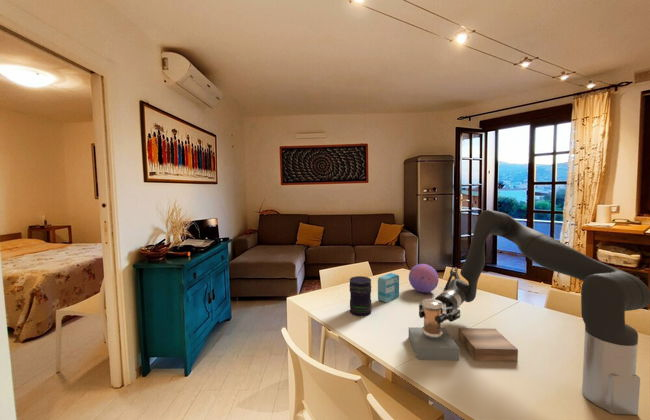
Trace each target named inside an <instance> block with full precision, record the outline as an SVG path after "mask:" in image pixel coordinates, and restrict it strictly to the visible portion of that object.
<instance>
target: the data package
mask: <svg viewBox="0 0 650 420" xmlns="http://www.w3.org/2000/svg"><path fill="white" fill-rule="evenodd" d="M399 296H400V275H399V274H396V273H392V272H389V273H387V274H384V275H381V276H379V277H378V278H377V299H378V301H380V302H384V303H386V304H387V303H389V302H391V301H393V300H396V299H397V298H399Z"/></svg>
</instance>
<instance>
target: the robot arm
mask: <svg viewBox="0 0 650 420" xmlns="http://www.w3.org/2000/svg"><path fill="white" fill-rule="evenodd" d="M490 235H492V236H499V237H502V238H504V239H506V240H508V241H510V242H512V243H514V244H515V245H516V246H517V248H518V249H519V252H520V253H522V255H523V256H525V257H526V258H528V259H529V260H531V261H532V262H534V263H535V264H537V265H539V266H540V267H541V268H545V269H548V270H550V271H553V272H555V273H559V274H562V275H565V276H568V277H572V278H575V279H577V280H579V281H581V282H582V283H581V289H580V305H581V306H580V308H581V309H580V310H581V311H580V312H581V318H582V320H583V322H584V344H583V360H582V361H583V362H582V363H583V364H582V382H581V383H582V384H581V386H582V387H581V393H582V395H583V396H584V397H585V398H586V399H587V400H588V401H589V402H591V403H592V404H594V405H596V406H597V407H599V408H601V409H604V410H605V411H607V412H608V413H609V414H612V415H633V416H634V415H636V416H637V415H639V401H640V387H641V378H640V376H638V375H636V373H637V361H638V360H637V357H638V343H639V334H638V331H637V330H636V329H635V328H634V327H632V326H631V325H628V324H626V321H625V320H626V315H625V314H626V313H625V312H629V311H637V310H640V309H643V308H646V307H648V306H649V305H650V288H649V286H648V285H646V283H644V282H643V281H642V280H641V279H640V278H638V277H637V276H635V275H633V274H631V273H629V272H626V271H624V270H621V269H619V268H616V267H613V266H611V265H609V264H606V263H604V262H601V261H600V260H597V259H594V258H593V257H590V256H588V255H586V254H584V253H583V252H580V251H579V250H577V249H575V248H573V247H570V246H568V245H566V244H565V243H563V242H561V241H559V240H557V239H555V238H553V237H552V236H549V235H547V234H545V233H542V232H541V231H538V230H536V229H533V228H531V227H529V226H526V225H524V224H522V223H521V222H520V221H518V220H517V219H515V217H512V216H510V215H509V214H507V213H505V212H500V211H496V210H491V209H486V210H483V211H481V213H480V214H479V215H478V217H477V220H476V223H475V226H474V231H473V235H472V237H471V238H472V239H471V243H470V245H469V246H470V247H469V250H468V252H467V253H468V254H467V256H466V259H465V260H464V263H463V265H462V267H461V270H460V272H459V274H460V275H461V277H463V279H465V280H466V281H467V282H468V283H467V282H465V281H463V280H461V279H455V278H454V279H451V282H450V285H449V289H448V290H443V292H441V293H440V294H439V295H437V296H436V297H434V299H436V300H439V301H441V302H442V303H443V308H442V309H441V314H440V315H439V316H438V317H437V323H438V324H440V323H441V324H443V323H444V322H446V321H448V322H454V321H456V320H458V319H460V318H461V309H459V308H460V306H461V305H462V304H463V303H464V302H465V303H471V302H473V301H474V300H475V299H476V296H477V290H478V289H477V288H478V282H479V278H480V277H481V274H482V273H483V270H484V268H485V265H486V251H485V247H486V242H487V239H488V237H489V236H490ZM423 300H424V299H422V300H421V301H420V303H419V305H418V316H419V318H420V319H424V307H423V306H422V301H423Z"/></svg>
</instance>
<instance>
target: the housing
mask: <svg viewBox="0 0 650 420" xmlns="http://www.w3.org/2000/svg"><path fill="white" fill-rule="evenodd" d="M422 300H423V301H422ZM422 300H421V302H422V306H423V307H424V317H423V326H422V327H421V328H422V333H423V335H425V336H426V337H429V338H434V339H437V338H441V337H442V335H443V331H442V330H441V328H442V327H441V325H442V323H440V324H438V323H437V317H438V316H439V315H440V314H441V309H442V308H443V303H442V302H441V301H439V300H436V299H435V298H425V299H422Z"/></svg>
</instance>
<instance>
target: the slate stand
mask: <svg viewBox="0 0 650 420" xmlns="http://www.w3.org/2000/svg"><path fill="white" fill-rule="evenodd" d="M441 330H442V331H443V335H442V337H441V338H437V339H434V338H429V337H426V336H425V335H423V333H422V327H418V326H417V327H414V326H413V327H411V326H410V327H408V340H409V339H410V340H409V342H410V345H411V346H413V347H412V349H413V351H414V354H415V353H416V354H415V356H416V358H417V360H430V361H431V360H435V361H436V360H438V361H441V360H442V361H460V347H459V346H458V344H457V343H456V342H455V340H454V339H453V337H452V336H451V335H450V333H449V332H448V331H447V329H446V328H445V327H441Z"/></svg>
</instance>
